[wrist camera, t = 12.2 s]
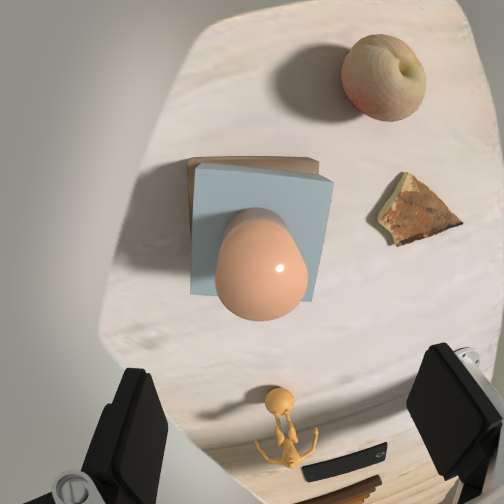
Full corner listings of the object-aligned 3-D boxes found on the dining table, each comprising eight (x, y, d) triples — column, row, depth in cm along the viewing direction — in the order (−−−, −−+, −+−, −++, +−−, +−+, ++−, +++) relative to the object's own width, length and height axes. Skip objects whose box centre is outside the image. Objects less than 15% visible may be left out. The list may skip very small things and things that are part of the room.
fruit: (413, 92, 26) (458, 88, 19) (364, 135, 28) (403, 139, 21) (366, 33, 24) (403, 11, 16) (313, 73, 26) (338, 56, 18)
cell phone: (383, 457, 53) (384, 460, 52) (306, 479, 54) (307, 483, 53) (386, 440, 50) (387, 443, 49) (301, 464, 51) (302, 468, 50)
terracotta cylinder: (289, 269, 24) (305, 318, 18) (224, 272, 24) (219, 322, 17) (289, 206, 22) (309, 235, 16) (220, 208, 22) (211, 239, 16)
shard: (457, 219, 33) (465, 224, 31) (424, 268, 35) (431, 274, 33) (404, 168, 30) (412, 170, 28) (366, 224, 32) (373, 229, 31)
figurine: (304, 375, 40) (322, 446, 28) (310, 400, 42) (326, 466, 31) (245, 389, 40) (249, 461, 29) (256, 413, 42) (262, 480, 31)
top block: (302, 279, 29) (311, 301, 26) (195, 272, 28) (190, 294, 25) (319, 174, 26) (333, 182, 22) (201, 162, 25) (195, 168, 21)
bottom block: (301, 259, 33) (311, 278, 29) (199, 261, 33) (194, 281, 29) (307, 156, 29) (318, 161, 25) (194, 157, 29) (187, 161, 25)
